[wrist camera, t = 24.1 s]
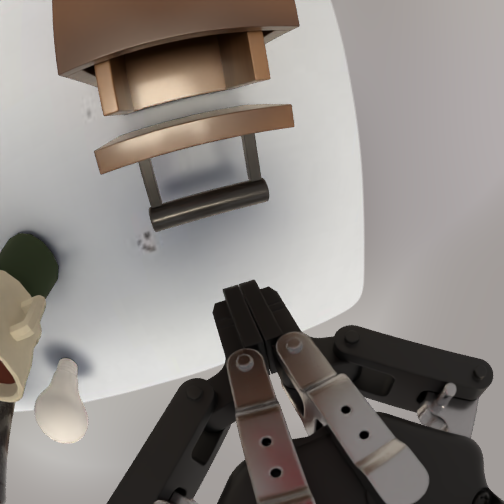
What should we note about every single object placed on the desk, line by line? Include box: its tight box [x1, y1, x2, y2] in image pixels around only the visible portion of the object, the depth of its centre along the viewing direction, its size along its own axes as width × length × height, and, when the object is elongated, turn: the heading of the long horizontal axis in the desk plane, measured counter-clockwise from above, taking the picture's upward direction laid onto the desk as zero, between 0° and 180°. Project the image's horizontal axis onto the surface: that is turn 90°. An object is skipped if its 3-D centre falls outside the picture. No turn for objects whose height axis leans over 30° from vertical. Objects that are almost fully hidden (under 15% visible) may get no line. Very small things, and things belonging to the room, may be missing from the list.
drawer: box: [94, 31, 294, 232], centre depth 14 cm, size 15×10×8 cm, turn 9°
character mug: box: [0, 233, 58, 402], centre depth 14 cm, size 11×7×13 cm, turn 103°
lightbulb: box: [34, 358, 88, 444], centre depth 21 cm, size 6×6×11 cm
